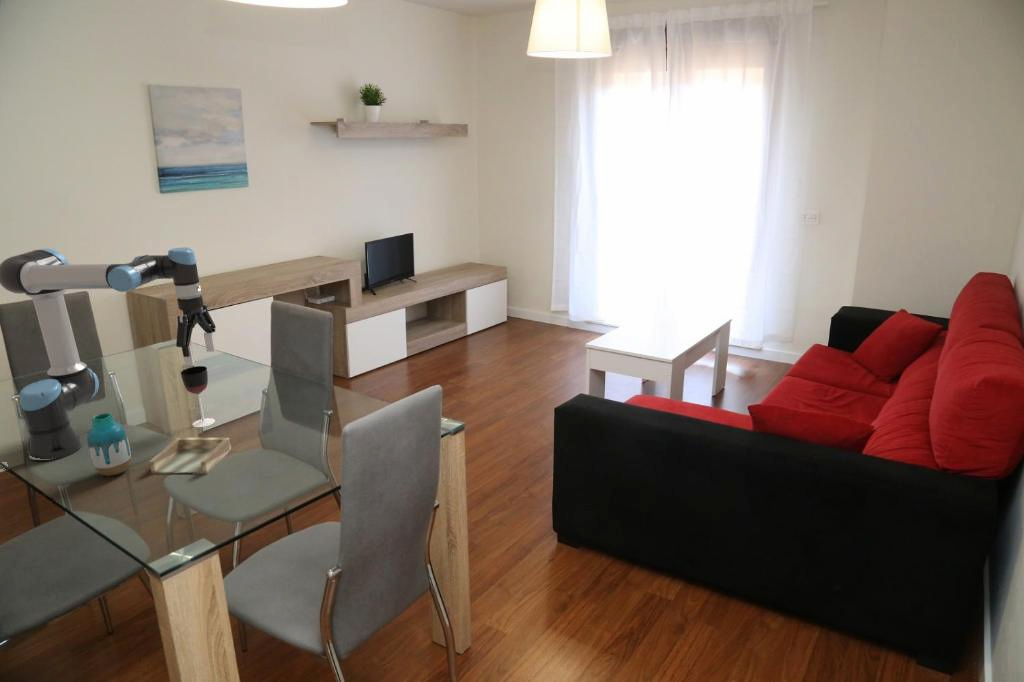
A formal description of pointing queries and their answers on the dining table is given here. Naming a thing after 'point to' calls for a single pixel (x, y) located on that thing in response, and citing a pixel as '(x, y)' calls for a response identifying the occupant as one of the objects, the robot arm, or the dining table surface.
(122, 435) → the vase
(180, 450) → the rest
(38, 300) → the robot arm
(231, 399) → the dining table surface
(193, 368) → the wineglass
